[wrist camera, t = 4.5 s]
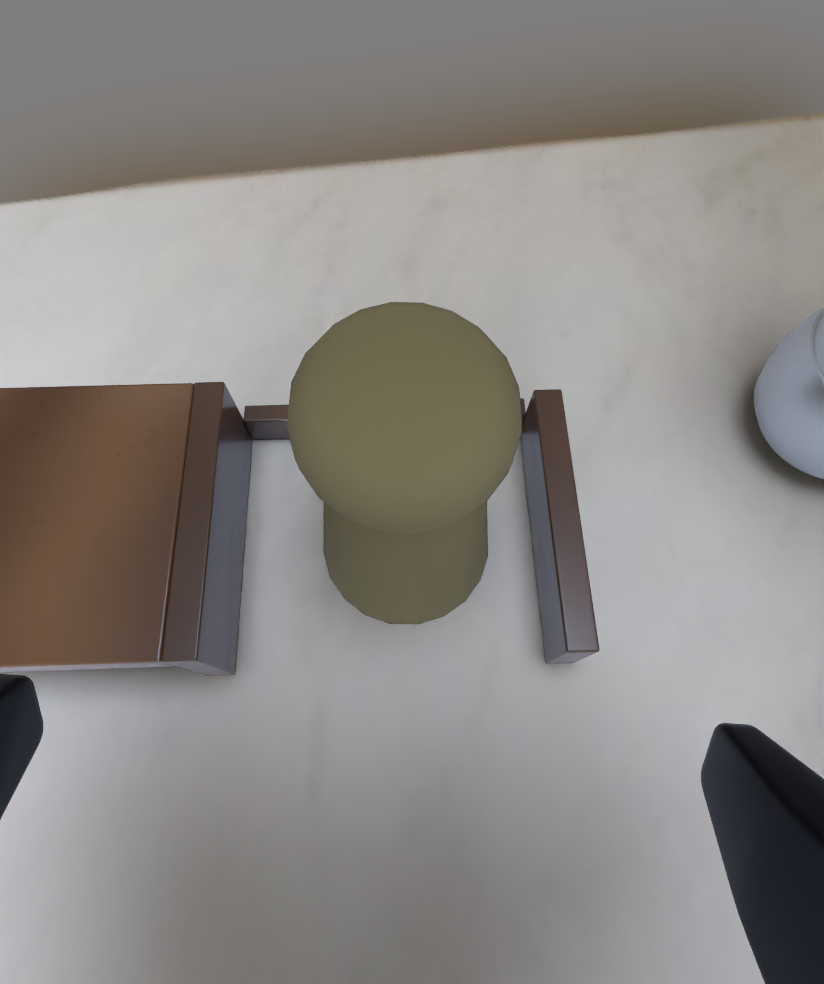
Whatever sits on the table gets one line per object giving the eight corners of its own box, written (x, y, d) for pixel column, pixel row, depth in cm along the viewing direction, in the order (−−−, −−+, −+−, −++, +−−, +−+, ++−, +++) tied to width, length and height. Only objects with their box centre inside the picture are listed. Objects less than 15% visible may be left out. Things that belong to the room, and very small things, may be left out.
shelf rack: (542, 416, 24) (566, 358, 20) (574, 663, 21) (611, 646, 17) (-53, 432, 24) (-138, 376, 20) (-126, 686, 20) (-246, 675, 16)
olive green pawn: (343, 455, 23) (293, 238, 13) (498, 480, 23) (568, 277, 13) (306, 608, 21) (211, 488, 11) (476, 639, 21) (542, 544, 11)
